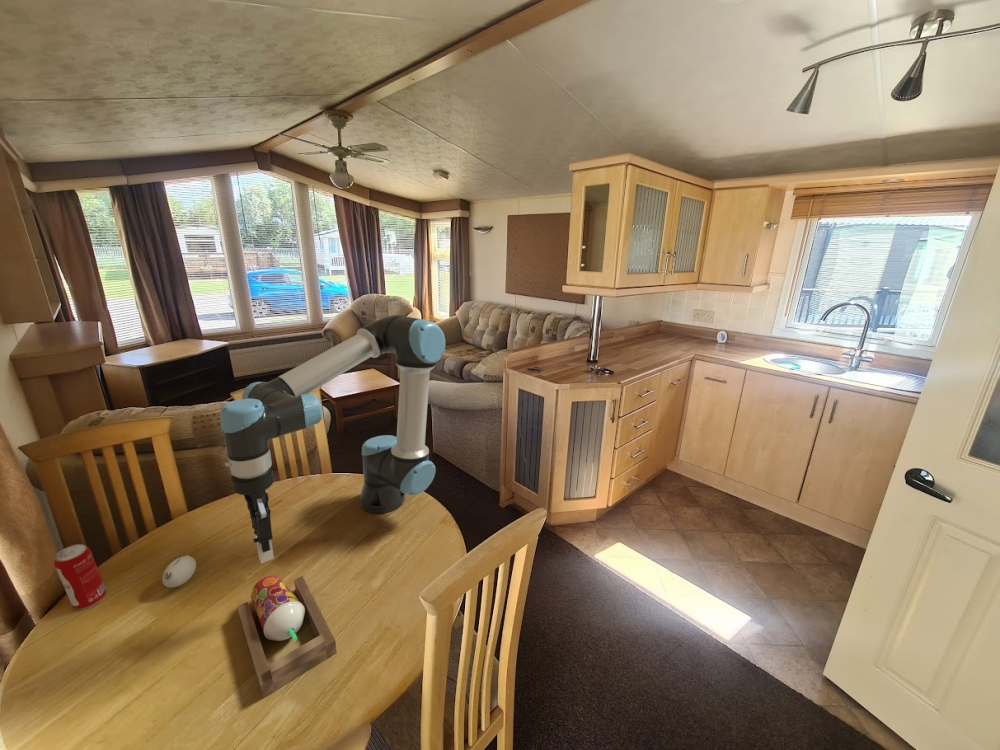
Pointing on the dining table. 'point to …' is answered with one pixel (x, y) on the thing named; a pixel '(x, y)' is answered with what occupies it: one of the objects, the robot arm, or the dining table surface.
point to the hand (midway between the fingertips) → (266, 558)
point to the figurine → (179, 571)
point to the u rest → (297, 659)
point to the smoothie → (277, 609)
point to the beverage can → (80, 576)
